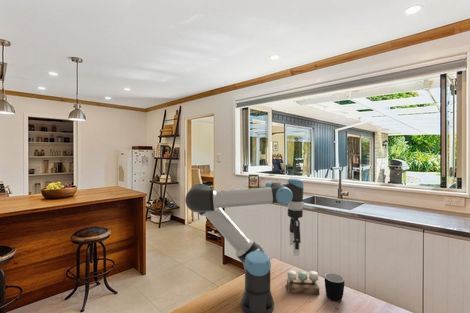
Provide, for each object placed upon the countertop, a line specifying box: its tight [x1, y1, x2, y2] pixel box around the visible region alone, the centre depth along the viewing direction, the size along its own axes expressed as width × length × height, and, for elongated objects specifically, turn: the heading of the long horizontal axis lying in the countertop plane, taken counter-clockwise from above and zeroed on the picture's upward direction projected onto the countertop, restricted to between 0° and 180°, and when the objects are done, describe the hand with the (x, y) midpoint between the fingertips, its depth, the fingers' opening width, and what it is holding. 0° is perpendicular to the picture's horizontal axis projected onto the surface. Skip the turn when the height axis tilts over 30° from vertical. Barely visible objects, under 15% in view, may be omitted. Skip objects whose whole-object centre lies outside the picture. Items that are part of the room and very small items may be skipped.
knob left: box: [287, 269, 297, 283], centre depth 129 cm, size 4×4×5 cm
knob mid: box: [297, 270, 308, 284], centre depth 129 cm, size 4×4×5 cm
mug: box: [324, 272, 345, 302], centre depth 123 cm, size 12×9×10 cm
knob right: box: [308, 270, 319, 284], centre depth 128 cm, size 4×4×5 cm
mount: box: [286, 278, 320, 295], centre depth 129 cm, size 15×8×3 cm, turn 86°
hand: (294, 249), depth 128 cm, fingers open, 13 cm apart
